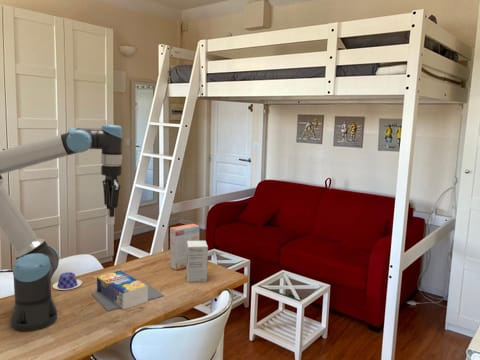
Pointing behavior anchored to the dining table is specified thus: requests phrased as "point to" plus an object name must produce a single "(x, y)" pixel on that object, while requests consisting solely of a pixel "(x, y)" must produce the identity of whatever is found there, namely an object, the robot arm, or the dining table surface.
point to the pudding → (67, 281)
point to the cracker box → (181, 244)
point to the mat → (112, 305)
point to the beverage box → (122, 289)
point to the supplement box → (197, 261)
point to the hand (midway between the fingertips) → (110, 224)
